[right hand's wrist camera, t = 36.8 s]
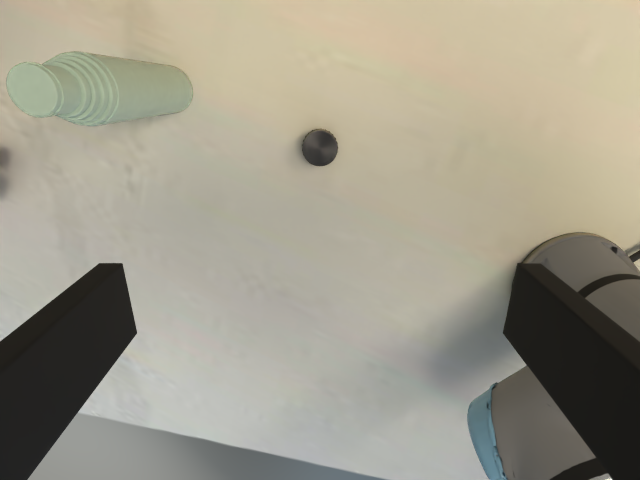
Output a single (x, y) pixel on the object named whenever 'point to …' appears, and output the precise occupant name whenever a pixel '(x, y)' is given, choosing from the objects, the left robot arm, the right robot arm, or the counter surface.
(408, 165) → the counter surface
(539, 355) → the right robot arm
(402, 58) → the counter surface
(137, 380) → the counter surface
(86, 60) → the bottle
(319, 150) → the cap
